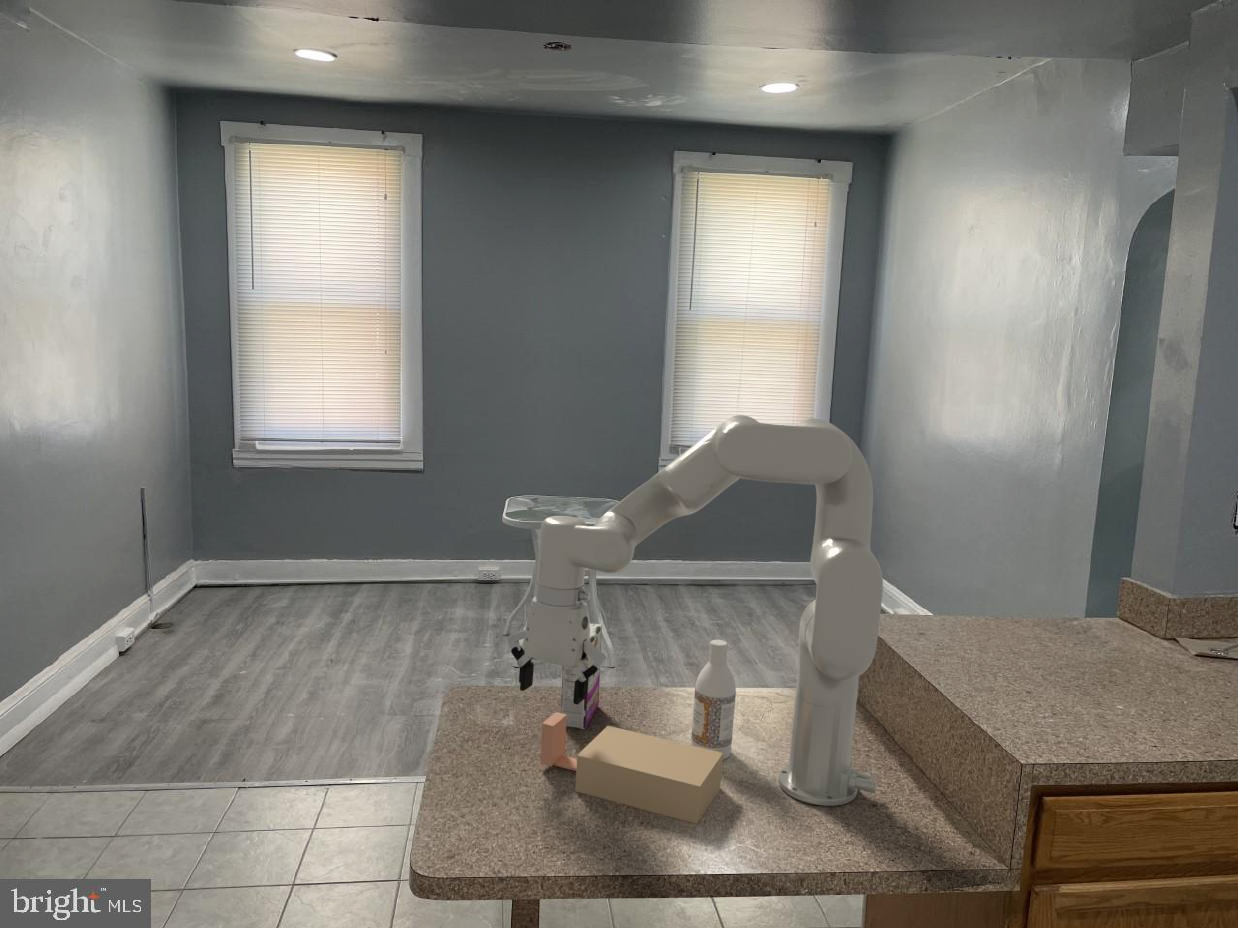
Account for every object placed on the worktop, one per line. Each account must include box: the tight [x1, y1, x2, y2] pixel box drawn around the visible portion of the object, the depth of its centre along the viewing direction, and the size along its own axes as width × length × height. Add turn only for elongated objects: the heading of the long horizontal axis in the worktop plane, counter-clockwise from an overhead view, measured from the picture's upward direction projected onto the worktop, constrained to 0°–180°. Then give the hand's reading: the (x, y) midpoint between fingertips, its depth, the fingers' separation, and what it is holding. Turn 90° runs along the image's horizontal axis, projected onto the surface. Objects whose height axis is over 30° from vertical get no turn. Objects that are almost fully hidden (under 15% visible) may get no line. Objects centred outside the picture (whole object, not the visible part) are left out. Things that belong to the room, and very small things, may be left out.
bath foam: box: [690, 639, 737, 761], centre depth 159 cm, size 7×7×20 cm
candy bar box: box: [560, 622, 603, 730], centre depth 171 cm, size 11×5×16 cm, turn 168°
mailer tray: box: [539, 711, 577, 772], centre depth 148 cm, size 27×10×7 cm, turn 67°
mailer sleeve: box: [574, 725, 723, 825], centre depth 147 cm, size 20×12×6 cm, turn 67°
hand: (552, 694), depth 152 cm, fingers open, 9 cm apart
